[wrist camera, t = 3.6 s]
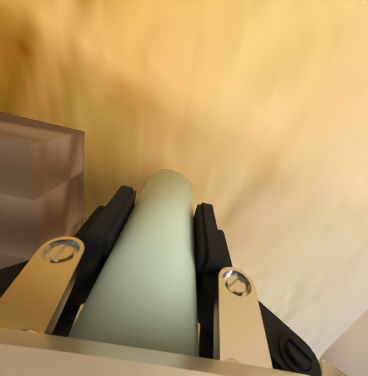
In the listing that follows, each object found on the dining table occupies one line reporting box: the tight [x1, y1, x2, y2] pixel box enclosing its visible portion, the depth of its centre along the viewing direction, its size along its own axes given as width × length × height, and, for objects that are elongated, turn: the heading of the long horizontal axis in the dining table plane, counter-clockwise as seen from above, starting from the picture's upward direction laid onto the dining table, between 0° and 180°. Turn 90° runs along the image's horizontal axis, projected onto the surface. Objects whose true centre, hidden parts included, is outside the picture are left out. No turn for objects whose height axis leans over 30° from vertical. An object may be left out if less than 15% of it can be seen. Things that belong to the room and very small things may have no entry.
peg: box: [68, 170, 199, 357], centre depth 9 cm, size 3×3×10 cm
